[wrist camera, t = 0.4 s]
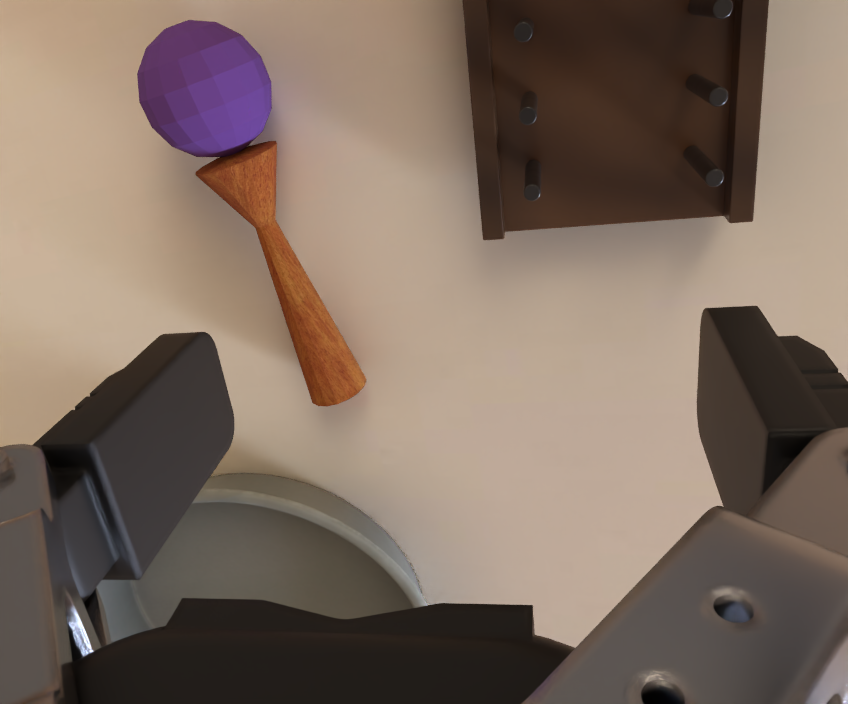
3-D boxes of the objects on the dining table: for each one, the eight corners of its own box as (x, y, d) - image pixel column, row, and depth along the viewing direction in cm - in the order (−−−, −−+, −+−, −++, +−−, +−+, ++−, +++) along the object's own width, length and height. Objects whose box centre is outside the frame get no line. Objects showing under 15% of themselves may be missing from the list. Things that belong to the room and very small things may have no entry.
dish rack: (450, -212, 30) (368, -393, 16) (771, -270, 27) (1005, -538, 14) (486, 226, 37) (453, 366, 23) (740, 207, 35) (870, 350, 21)
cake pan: (296, 760, 60) (278, 815, 56) (48, 573, 55) (9, 619, 51) (525, 623, 50) (523, 678, 46) (249, 379, 45) (221, 417, 41)
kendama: (271, 425, 41) (85, 57, 32) (315, 365, 46) (164, 31, 37) (365, 416, 39) (192, 15, 30) (402, 354, 43) (262, -7, 34)
